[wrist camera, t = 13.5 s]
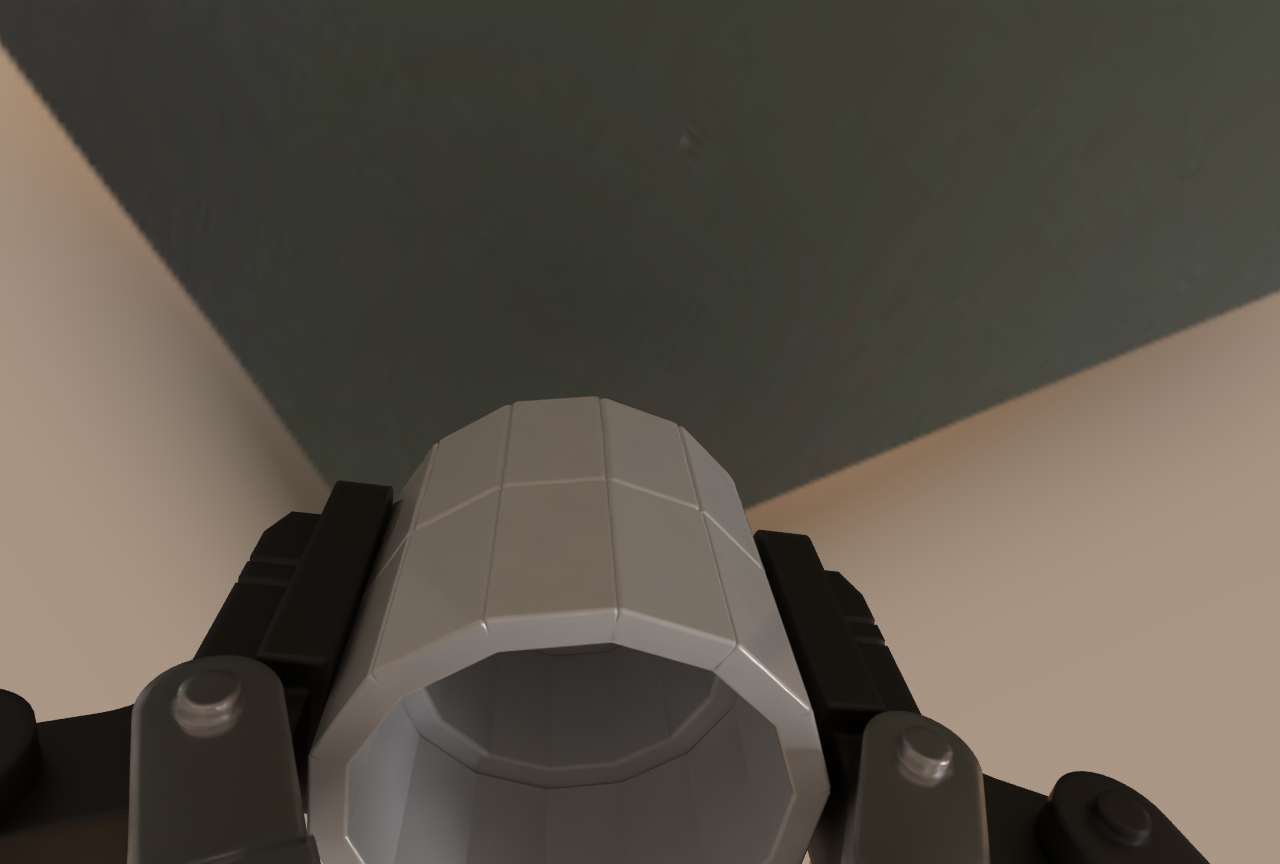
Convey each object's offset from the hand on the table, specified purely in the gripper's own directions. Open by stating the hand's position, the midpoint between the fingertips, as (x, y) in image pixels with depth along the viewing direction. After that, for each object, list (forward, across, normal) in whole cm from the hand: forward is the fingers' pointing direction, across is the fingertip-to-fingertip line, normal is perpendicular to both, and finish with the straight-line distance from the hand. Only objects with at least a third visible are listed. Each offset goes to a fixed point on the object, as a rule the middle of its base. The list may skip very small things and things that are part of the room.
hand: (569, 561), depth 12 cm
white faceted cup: (+1, 0, 0) cm, 1 cm away
